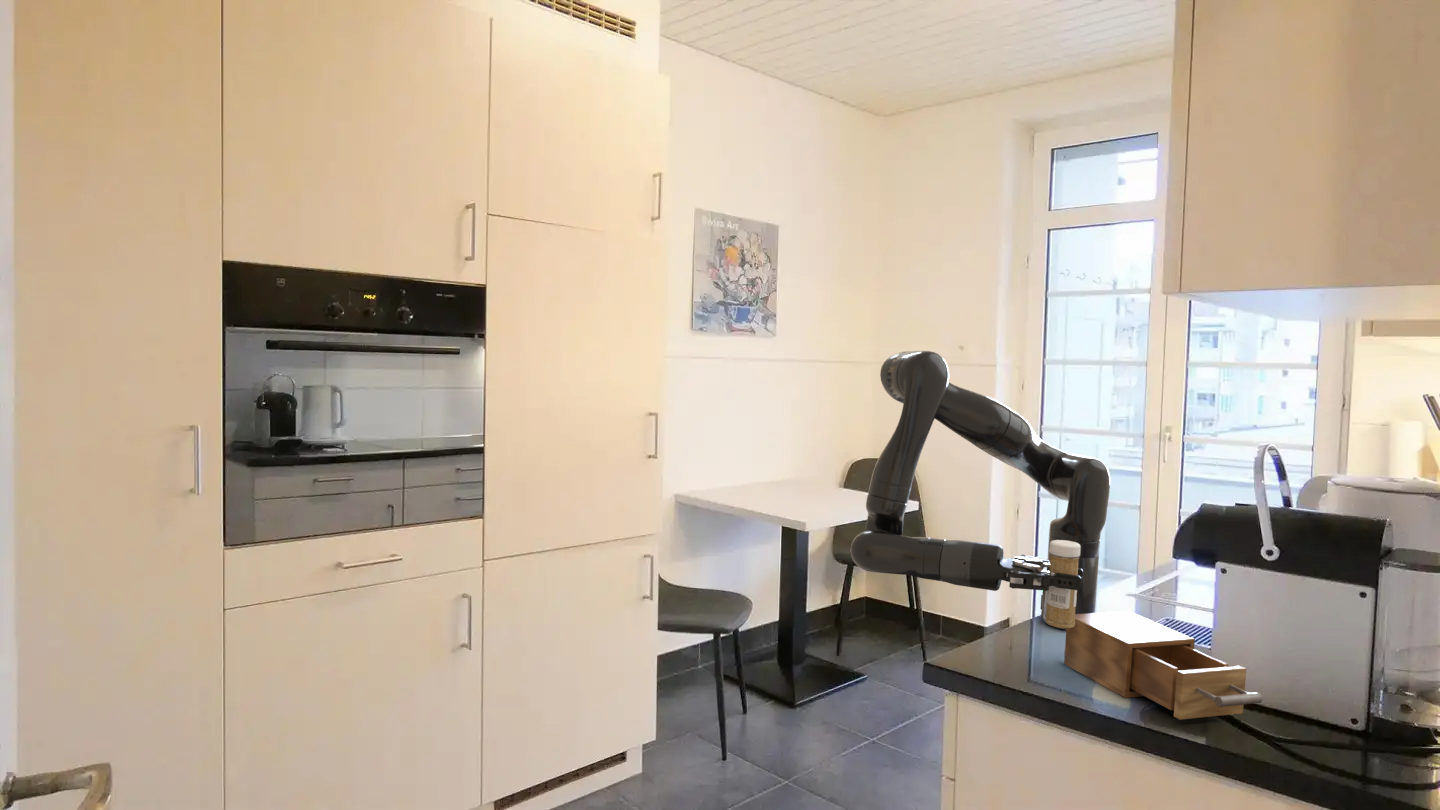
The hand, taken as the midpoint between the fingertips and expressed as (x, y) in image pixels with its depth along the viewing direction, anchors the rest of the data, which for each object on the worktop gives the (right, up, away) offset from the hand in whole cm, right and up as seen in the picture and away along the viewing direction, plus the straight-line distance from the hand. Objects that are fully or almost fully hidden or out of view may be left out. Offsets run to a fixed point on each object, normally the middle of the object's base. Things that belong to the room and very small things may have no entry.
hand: (1081, 579), depth 140 cm
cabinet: (+9, -17, +5) cm, 20 cm away
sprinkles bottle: (-3, -8, +2) cm, 8 cm away
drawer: (+13, -17, -8) cm, 23 cm away
